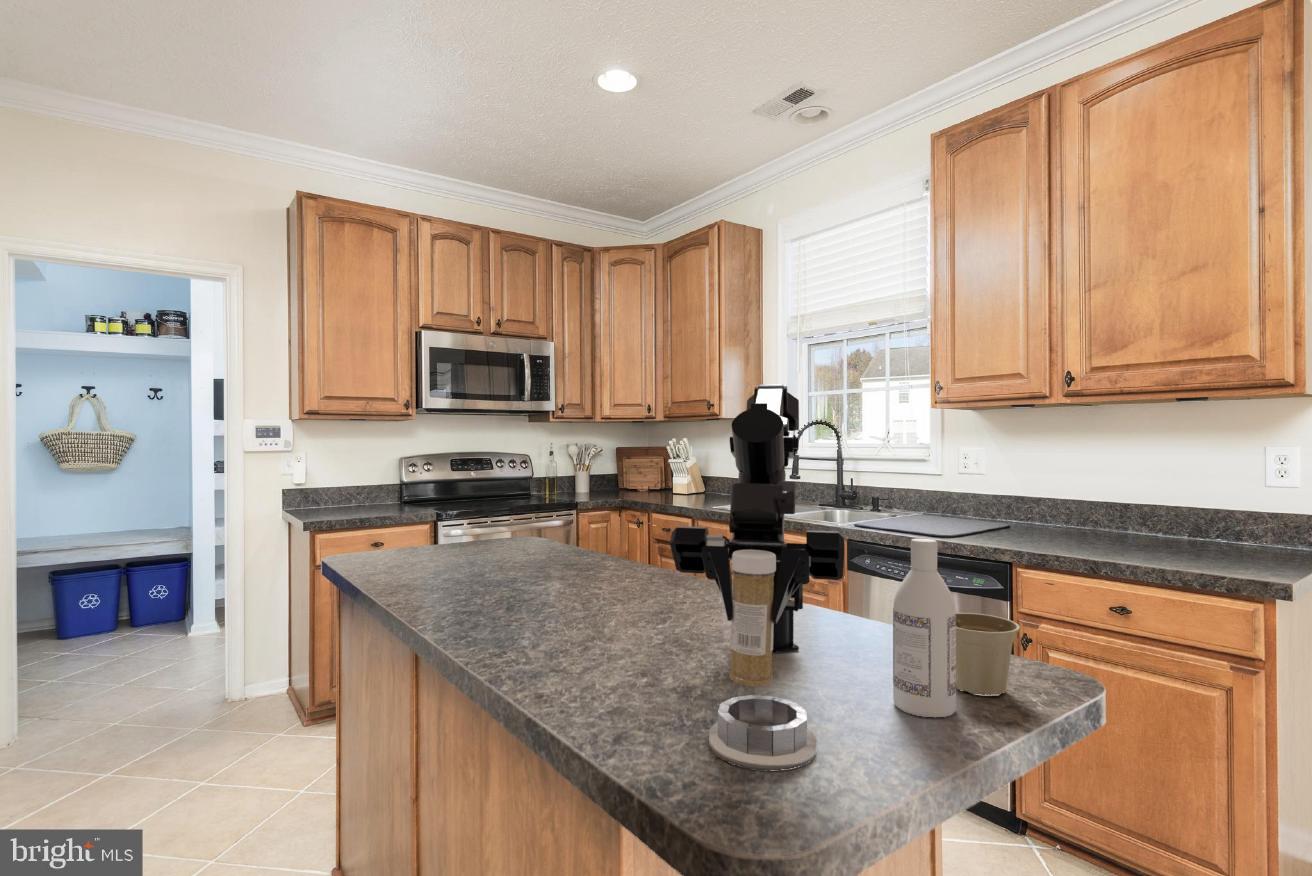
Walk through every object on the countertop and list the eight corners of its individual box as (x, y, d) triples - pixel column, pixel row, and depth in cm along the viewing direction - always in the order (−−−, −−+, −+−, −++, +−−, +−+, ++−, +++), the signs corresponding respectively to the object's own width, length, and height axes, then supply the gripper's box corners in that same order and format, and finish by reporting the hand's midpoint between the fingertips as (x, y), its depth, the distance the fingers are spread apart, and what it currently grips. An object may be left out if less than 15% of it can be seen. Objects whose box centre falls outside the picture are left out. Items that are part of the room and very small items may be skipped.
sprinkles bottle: (779, 679, 70) (783, 551, 70) (759, 692, 66) (763, 557, 66) (741, 669, 73) (745, 546, 73) (720, 681, 69) (724, 551, 69)
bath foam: (936, 696, 83) (936, 535, 83) (968, 719, 76) (967, 543, 76) (883, 698, 82) (883, 536, 82) (910, 721, 75) (910, 544, 76)
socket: (783, 718, 76) (783, 687, 76) (838, 761, 66) (838, 726, 66) (693, 730, 73) (693, 698, 73) (736, 778, 62) (736, 741, 62)
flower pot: (974, 706, 80) (974, 634, 80) (922, 679, 89) (922, 615, 89) (1037, 699, 82) (1037, 629, 82) (981, 673, 91) (981, 610, 91)
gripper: (673, 455, 76) (650, 571, 65) (843, 456, 71) (849, 581, 60) (686, 516, 83) (667, 629, 72) (840, 520, 79) (844, 641, 68)
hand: (751, 620), depth 68 cm, fingers closed on sprinkles bottle, 4 cm apart
